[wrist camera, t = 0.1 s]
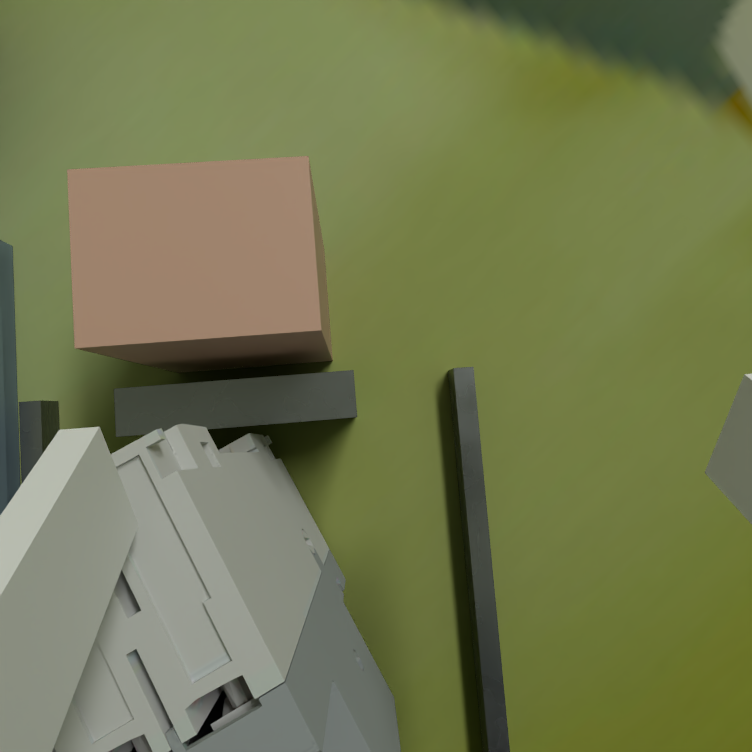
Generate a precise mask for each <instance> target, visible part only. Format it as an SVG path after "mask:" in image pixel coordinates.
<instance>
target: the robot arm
mask: <svg viewBox="0 0 752 752" xmlns="http://www.w3.org/2000/svg"><path fill="white" fill-rule="evenodd" d="M705 473H706V475H707V476H708V477H709V478H710V479H711V480H712V481H713V482H714V483H715V484H716V486H717V487H718V488H719V489H720V490H721V491H722V492H723V493H724V494H725V495H726V497H727V498H728V499H729V500H730V501H731V502H732V503H733V504H734V505H735V506H736V508H737V509H738V510H739V511H740V512H741V513H742V514H743V515H744V516H745V517H746V519H747V520H748V521H749V522H750V523H751V524H752V374H744V377H743V379H742V382H741V384H740V387H739V389H738V392H737V394H736V396H735V399H734V401H733V404H732V406H731V409H730V411H729V414H728V416H727V419H726V421H725V424H724V426H723V429H722V431H721V434H720V436H719V439H718V441H717V443H716V446H715V448H714V451H713V453H712V456H711V458H710V461H709V463H708V466H707V468H706V471H705ZM138 525H139V524H138V521H137V519H136V516H135V514H134V511H133V509H132V506H131V504H130V501H129V499H128V496H127V494H126V491H125V489H124V486H123V484H122V481H121V479H120V476H119V474H118V471H117V469H116V466H115V464H114V461H113V459H112V456H111V454H110V451H109V449H108V446H107V444H106V441H105V439H104V436H103V434H102V431H101V429H100V427H89V428H77V429H64V430H59V431H58V432H57V434H56V435H55V437H54V438H53V440H52V441H51V442H50V444H49V445H48V447H47V448H46V450H45V451H44V453H43V454H42V456H41V457H40V458H39V460H38V461H37V463H36V464H35V466H34V467H33V469H32V470H31V472H30V473H29V474H28V476H27V477H26V479H25V480H24V482H23V483H22V485H21V486H20V488H19V489H18V491H17V492H16V493H15V495H14V496H13V498H12V499H11V501H10V502H9V504H8V505H7V507H6V508H5V509H4V511H3V512H2V514H1V515H0V752H52V750H53V748H54V745H55V742H56V740H57V737H58V735H59V732H60V729H61V727H62V724H63V722H64V719H65V716H66V714H67V711H68V708H69V706H70V703H71V701H72V698H73V695H74V693H75V690H76V688H77V685H78V682H79V680H80V677H81V674H82V672H83V669H84V667H85V664H86V661H87V659H88V656H89V654H90V651H91V648H92V646H93V643H94V640H95V638H96V635H97V633H98V630H99V627H100V625H101V622H102V620H103V617H104V614H105V612H106V609H107V606H108V604H109V601H110V599H111V596H112V593H113V591H114V588H115V586H116V583H117V580H118V578H119V575H120V572H121V570H122V567H123V565H124V562H125V559H126V557H127V554H128V552H129V549H130V546H131V544H132V541H133V538H134V536H135V533H136V531H137V528H138Z"/></svg>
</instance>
